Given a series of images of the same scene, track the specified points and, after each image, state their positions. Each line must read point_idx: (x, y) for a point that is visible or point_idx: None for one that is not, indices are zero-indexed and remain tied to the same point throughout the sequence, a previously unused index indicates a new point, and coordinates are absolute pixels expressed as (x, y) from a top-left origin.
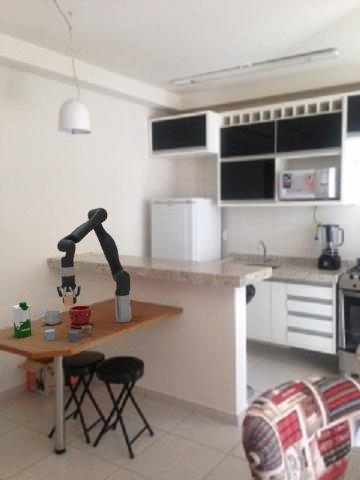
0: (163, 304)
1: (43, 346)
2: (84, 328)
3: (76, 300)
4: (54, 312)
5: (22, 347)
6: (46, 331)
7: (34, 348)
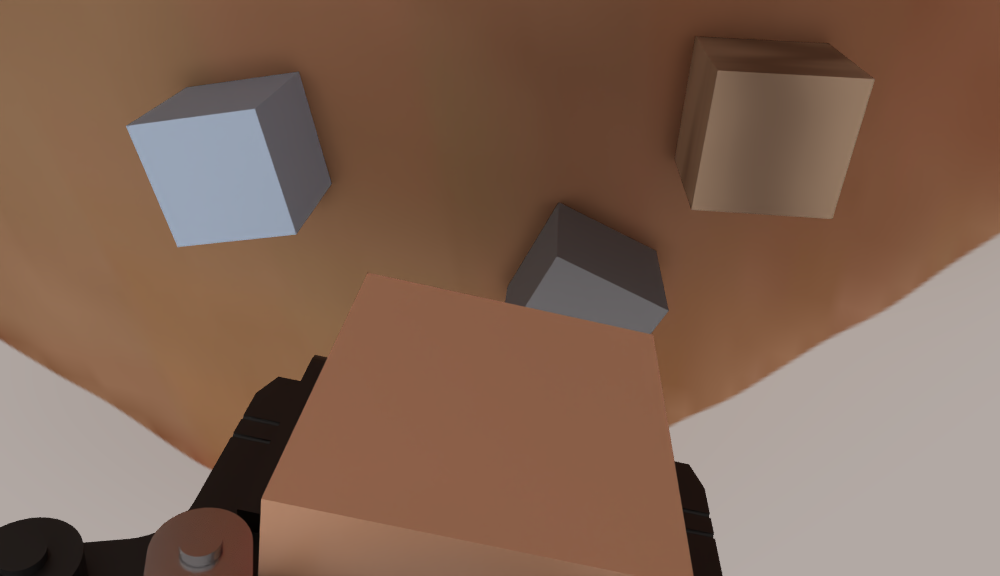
0: None
1: (262, 361)
2: (732, 211)
3: (705, 528)
4: None
5: (52, 332)
6: (174, 208)
7: (191, 388)
